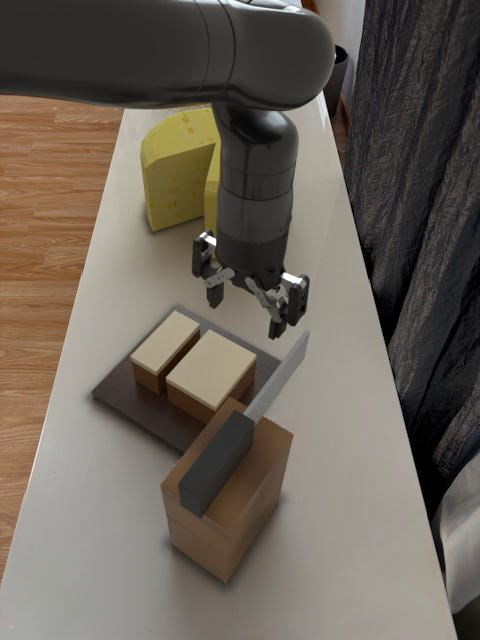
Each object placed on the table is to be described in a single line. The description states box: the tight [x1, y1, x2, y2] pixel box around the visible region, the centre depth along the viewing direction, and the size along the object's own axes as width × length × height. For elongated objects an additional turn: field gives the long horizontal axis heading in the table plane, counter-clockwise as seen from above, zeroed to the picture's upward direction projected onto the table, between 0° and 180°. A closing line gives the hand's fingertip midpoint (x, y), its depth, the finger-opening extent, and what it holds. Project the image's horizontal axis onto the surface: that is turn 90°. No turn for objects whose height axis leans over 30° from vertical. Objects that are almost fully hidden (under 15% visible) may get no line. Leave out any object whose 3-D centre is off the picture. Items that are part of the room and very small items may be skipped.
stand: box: [159, 397, 295, 584], centre depth 62 cm, size 12×8×18 cm, turn 147°
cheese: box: [139, 107, 221, 260], centre depth 101 cm, size 26×26×15 cm
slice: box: [130, 311, 200, 395], centre depth 80 cm, size 10×4×6 cm, turn 147°
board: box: [90, 304, 283, 457], centre depth 82 cm, size 20×20×2 cm
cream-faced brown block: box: [166, 329, 257, 425], centre depth 77 cm, size 10×8×6 cm
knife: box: [178, 329, 311, 519], centre depth 56 cm, size 22×2×5 cm, turn 147°
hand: (245, 319), depth 68 cm, fingers open, 8 cm apart
